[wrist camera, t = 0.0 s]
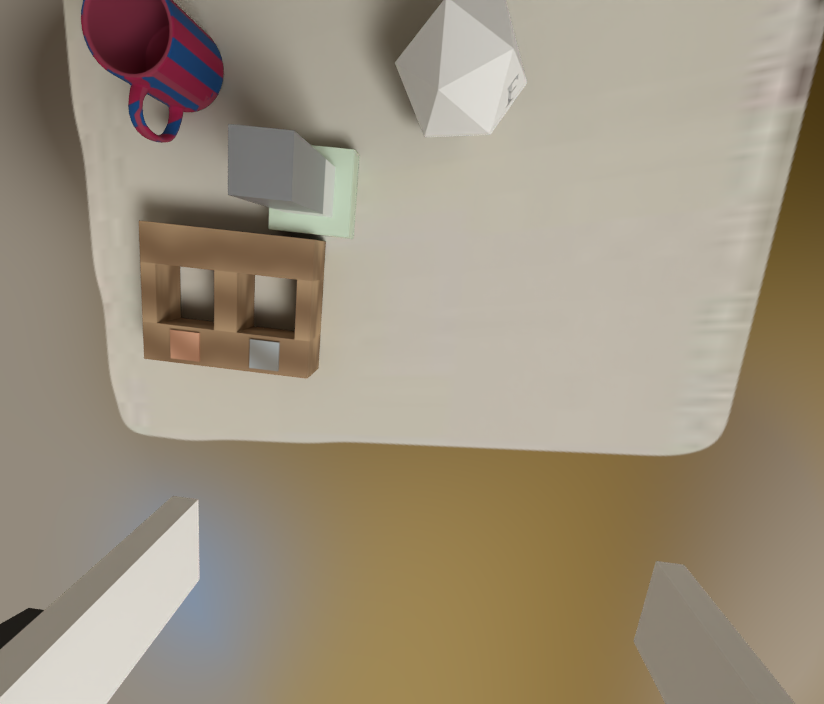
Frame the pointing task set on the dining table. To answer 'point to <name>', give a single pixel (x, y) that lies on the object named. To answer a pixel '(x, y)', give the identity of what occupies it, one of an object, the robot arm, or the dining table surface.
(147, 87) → the mug
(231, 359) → the socket block
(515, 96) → the die
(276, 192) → the plug
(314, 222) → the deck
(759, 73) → the dining table surface
